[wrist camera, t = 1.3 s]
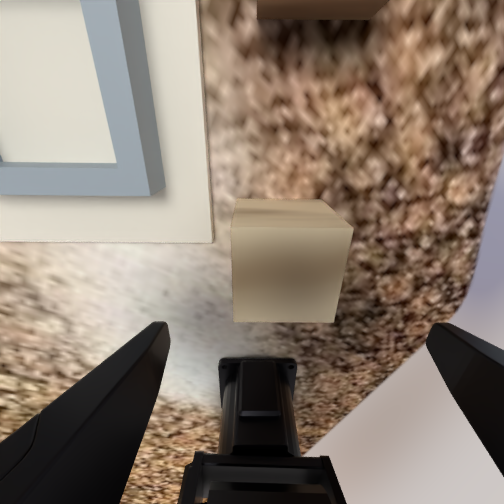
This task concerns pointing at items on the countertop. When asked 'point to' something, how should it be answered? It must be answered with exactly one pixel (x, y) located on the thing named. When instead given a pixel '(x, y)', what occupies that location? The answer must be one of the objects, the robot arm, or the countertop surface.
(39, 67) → the board
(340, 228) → the maple cube
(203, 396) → the countertop surface
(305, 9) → the walnut block
